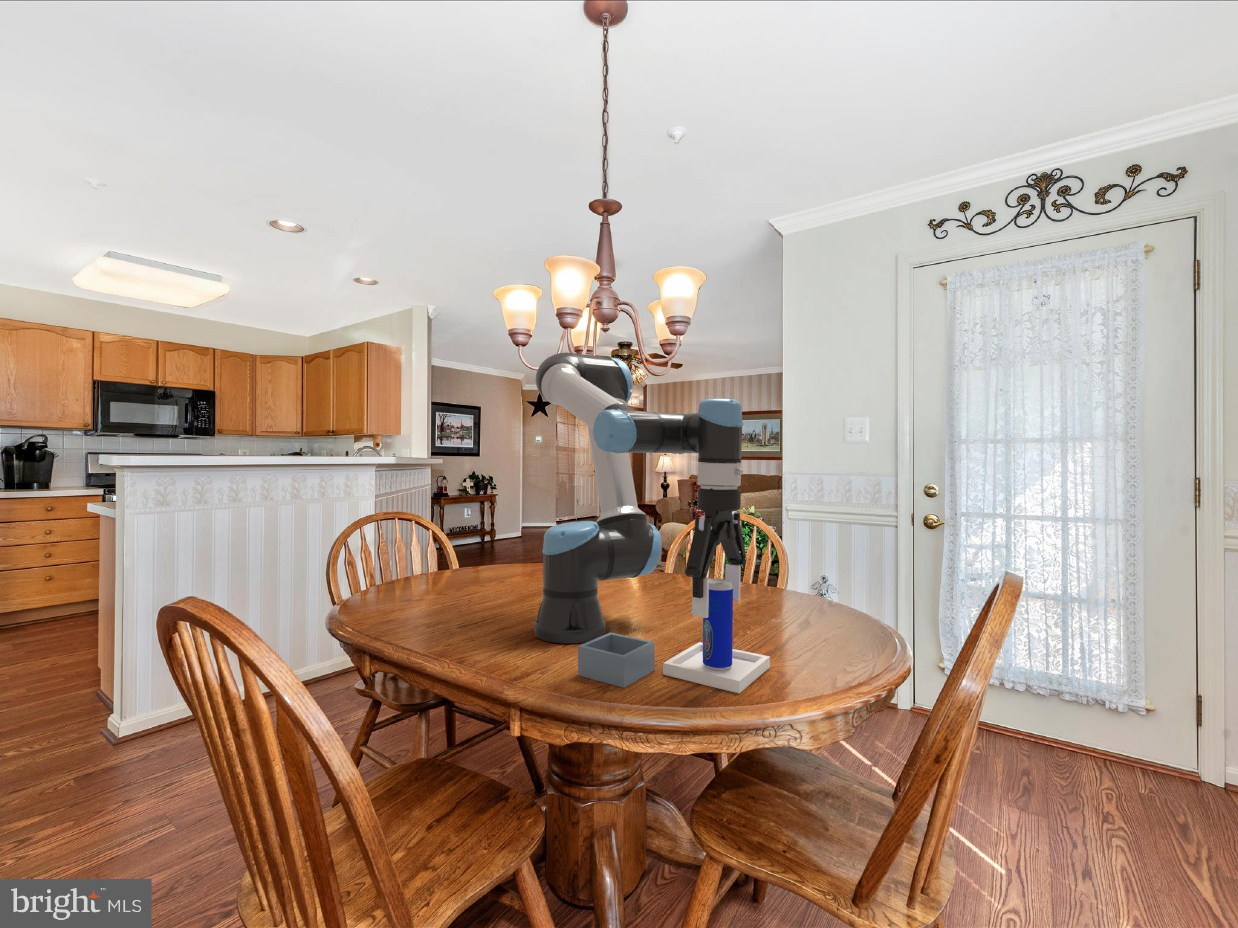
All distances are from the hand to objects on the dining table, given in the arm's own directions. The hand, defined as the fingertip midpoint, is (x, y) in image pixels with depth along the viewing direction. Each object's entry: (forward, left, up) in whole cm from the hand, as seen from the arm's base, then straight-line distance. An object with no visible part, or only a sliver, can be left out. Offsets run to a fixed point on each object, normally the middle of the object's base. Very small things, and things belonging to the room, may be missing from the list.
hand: (717, 607), depth 102 cm
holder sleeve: (-14, -11, -11) cm, 21 cm away
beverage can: (0, 0, -10) cm, 11 cm away
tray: (0, 0, -11) cm, 11 cm away
